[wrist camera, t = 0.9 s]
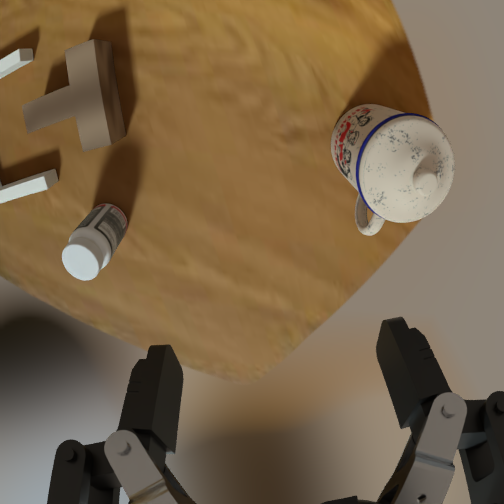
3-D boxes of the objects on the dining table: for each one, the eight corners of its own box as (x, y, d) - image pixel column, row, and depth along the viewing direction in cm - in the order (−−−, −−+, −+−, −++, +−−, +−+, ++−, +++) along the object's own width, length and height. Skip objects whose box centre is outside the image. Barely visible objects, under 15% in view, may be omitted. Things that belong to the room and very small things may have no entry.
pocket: (-28, 85, 21) (-41, 88, 19) (32, 48, 21) (19, 48, 19) (-2, 199, 30) (-12, 207, 27) (58, 180, 29) (47, 189, 27)
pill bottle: (90, 235, 33) (59, 277, 26) (91, 198, 31) (55, 236, 24) (127, 243, 34) (102, 289, 27) (130, 206, 32) (101, 247, 24)
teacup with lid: (342, 88, 26) (397, 99, 16) (418, 119, 27) (489, 149, 17) (307, 198, 32) (337, 261, 22) (381, 218, 33) (429, 279, 23)
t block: (38, 70, 22) (16, 73, 19) (110, 42, 22) (93, 38, 19) (55, 154, 28) (36, 166, 24) (126, 135, 27) (111, 144, 24)
